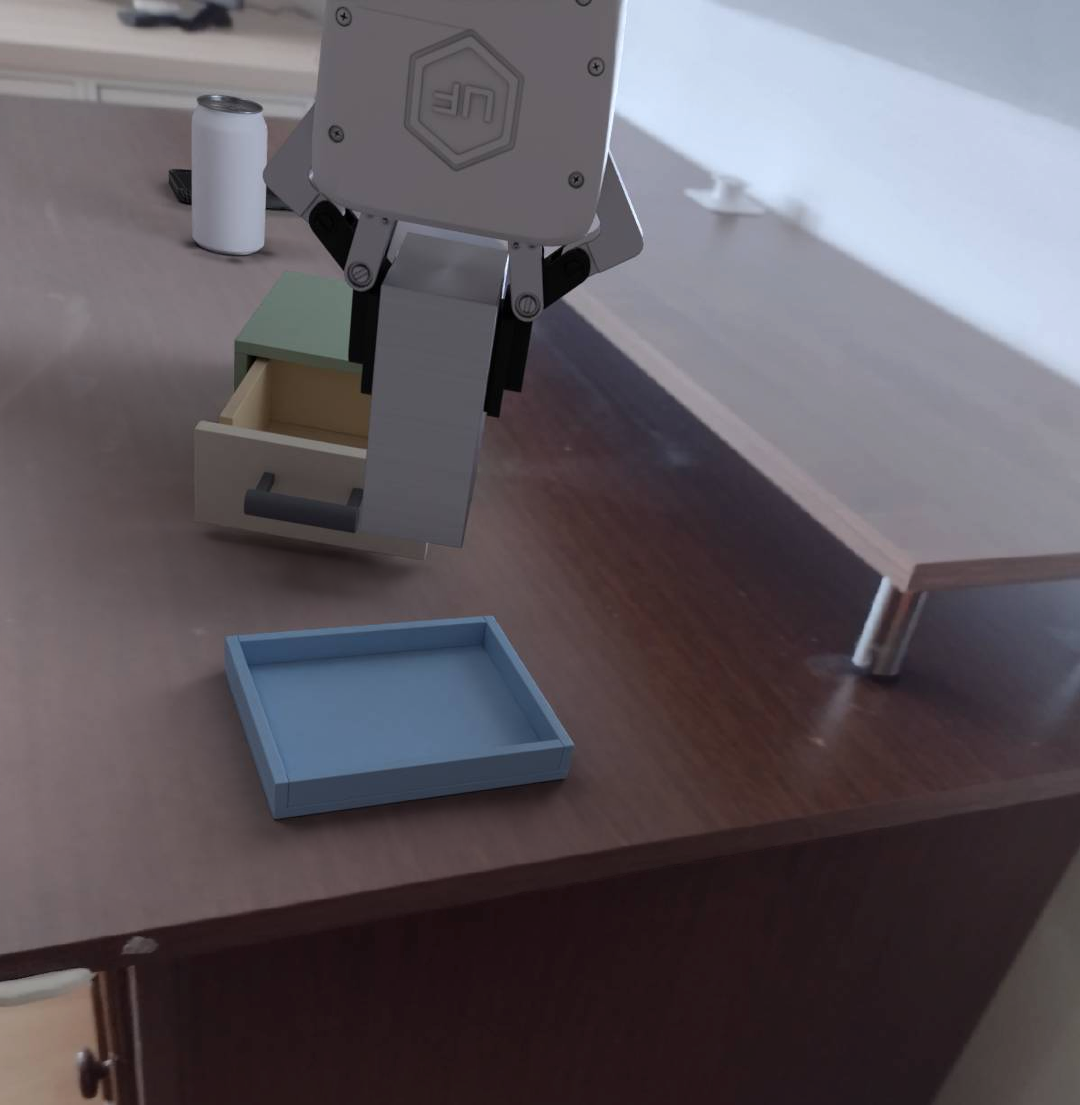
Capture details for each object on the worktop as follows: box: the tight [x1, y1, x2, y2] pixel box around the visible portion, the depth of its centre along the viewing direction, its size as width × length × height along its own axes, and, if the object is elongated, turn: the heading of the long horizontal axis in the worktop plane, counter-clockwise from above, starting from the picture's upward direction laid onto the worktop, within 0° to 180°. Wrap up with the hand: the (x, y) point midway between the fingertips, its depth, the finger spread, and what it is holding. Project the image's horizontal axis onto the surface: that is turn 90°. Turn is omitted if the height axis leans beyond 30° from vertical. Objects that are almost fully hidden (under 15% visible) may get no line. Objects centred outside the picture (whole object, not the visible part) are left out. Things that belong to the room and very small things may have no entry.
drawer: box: [193, 356, 429, 562], centre depth 71 cm, size 17×13×6 cm
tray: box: [224, 615, 575, 820], centre depth 58 cm, size 14×11×2 cm
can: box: [191, 94, 268, 256], centre depth 107 cm, size 6×6×12 cm
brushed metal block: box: [360, 231, 509, 549], centre depth 48 cm, size 4×7×10 cm, turn 177°
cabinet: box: [233, 269, 363, 394], centre depth 82 cm, size 15×15×8 cm
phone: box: [168, 168, 291, 210], centre depth 123 cm, size 8×1×15 cm
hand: (434, 388), depth 48 cm, fingers closed on brushed metal block, 4 cm apart
